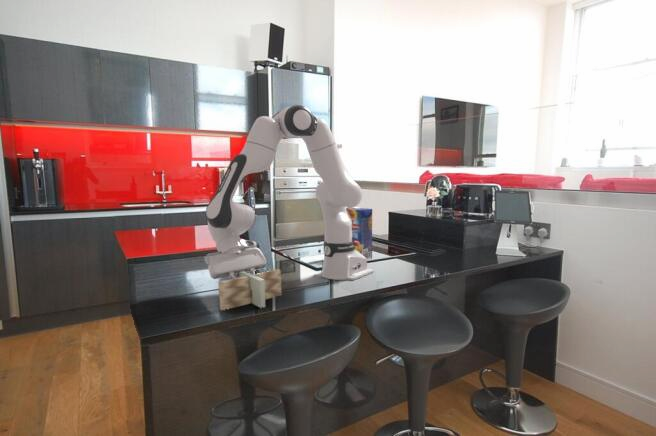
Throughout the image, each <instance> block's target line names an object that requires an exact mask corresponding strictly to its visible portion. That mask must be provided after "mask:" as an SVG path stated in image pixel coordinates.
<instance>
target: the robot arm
mask: <svg viewBox="0 0 656 436" xmlns="http://www.w3.org/2000/svg"><path fill="white" fill-rule="evenodd" d="M298 137H300V138H301V139H302V140H303V142H304V144H305V146H306V148H307V151H308V155H309V158H310V160H311V163H312V166H313V168H314V171H315V172H316V174H317V175H318V176H319V177H320V179H321V180H322V181H320V182H319V183H318V185H316V188H315V196H316V199H317V200H318V201H319V204H320V209H321V212H322V217H323V224H324V225H323V226H324V228H323V229H324V241H323V254H324V255H323V264H322V270H321V273H320V276H321V277H322V278H324V279H329V280H338V281H339V280H346V281H348V280H350V281H355V280H357V279H359V278H363V277H365V276H367V275H369V274H372V273H373V272H374V269H372V268H371V267H370V266H368V260H366V258H365V257H364V256H363V255H362V254H360V253H359V252H358V251H357V250H355V246H359V245H360V242H359V241H354V242H353V241H352V222H351V220H350V218H349V216H348V214H347V210H346V208H352V207H357V206H358V205H359V204H360V203H361V201H362V198H363V191H362V188H361V186H360V185H359V184H358V183H357V182H356V181H355V180H354V179H353V178H352V176H351V174H350V172H349V171H348V169H347V167H346V166H345V164H344V162H343V159H342V157H341V154H340V151H339V149H338V146H337V143H336V140H335V137H334V135H333V132H332V130H331V128H330V126H329V124H328V123H327V121H326V120H325V119H324V118H321V117H316V116H315V115H314V114H313V112H312V111H311V110H310V109H309V108H308V107H306V106H304V105H300V104H295V105H292V106H288V107H285V108H284V109H282V110H280V111H278V112H276V113H275V114H274V115H273V116H272V117H271V116H266V115H263V116H258V117H257V118H256V119H255V120H254V122H253V125H252V126H251V129H250V130H249V132H248V135H247V138H246V141H245V143H244V146H243V148H242V150H241V151H240V152H239V154H236V155H235V156H233V158H232V160H231V161H230V162H229V164H228V167H227V168H226V170H225V173H224V175H223V177H222V179H221V181H220V182H219V183H220V184H219V186H218V187H217V190H216V191H215V193H214V196H213V197H212V199H211V200H210V201H209V202H208V205H207V206H206V209H205V216H206V217H205V218H206V221H207V229H208V231H209V233H210V236H211V238H212V240H213V241H214V242H215V248H216V250H217V251H216V252H209V253H207V254H206V255H204V261H205V263H206V265H207V267H208V273H209V276H210V278H211V279H213V280H217V279H221V278H226V277H228V280H229V279H234V278H237V277H236V276H237V275H239V272H240V271H245V272H249V273H250V274H252V275H254V274H255V271H256V270H260V269H265V267H266V264H267V259H266V257H265V255H264V254H263V252H262V250H261V249H260V248H258V247H257V242H256V241H254V240H249V239H243V238H241V237H240V236H241V235H243V234H245V233H246V232H248V231H249V230H251V229H252V227H253V226H254V225H255V222H256V213H255V210H254V208H253V207H252V206H249V205H247V204H244V203H241V202H240V203H239V202H237V201H233V198H234V196H235V194H236V192H237V189H238V188H239V186H240V183H241V181H242V180H243V178H244V177H246V176H247V175H249V174H255V173H261V172H264V171H266V170H268V169H269V168H270V167H271V165H272V164H273V162H274V160H275V157H276V152H277V150H278V146H279V144H280V142H281V140H282V139H283V140H288V139H297V138H298Z"/></svg>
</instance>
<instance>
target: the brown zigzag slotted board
mask: <svg viewBox="0 0 656 436" xmlns="http://www.w3.org/2000/svg"><path fill="white" fill-rule="evenodd" d="M281 272H282V270H281V269H280V268H277V269H273V270H270V271H267V272H262V273H257V274H254V275H255V276H257V277H259V278H262V279H264V280H265V300H268V299H272V298H275V297H279V296H282V273H281ZM218 294H219V310H220V309H221V310H220V311H222V310H224V311H226V310H225V309H227V310H230V308H231V309H234V308H238V307H242V306H245V305H249V304H253V302H252V290H250V289H249V286H248V277H247V276H243V277H236V278H234V279H229V278H228V279H226V280H221V281H218Z"/></svg>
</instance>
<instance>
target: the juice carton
mask: <svg viewBox="0 0 656 436" xmlns="http://www.w3.org/2000/svg"><path fill="white" fill-rule="evenodd" d="M346 210H347V214H348V216H349V218H350V220H351V222H352V241H353V242H354V241H359V242H360V245H359V246H355V250H357V251H358V252H359V253H360V254H362V255H363V256H364V257H365V258H366V260H367V259H368V260H372V259H373V208H367V207H357V206H355V207H352V208H346ZM368 260H367V261H368Z"/></svg>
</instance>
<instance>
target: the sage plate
mask: <svg viewBox="0 0 656 436" xmlns="http://www.w3.org/2000/svg"><path fill="white" fill-rule="evenodd" d="M238 276H239V277H243V276H247V277H248V286H249V289H250V290H252V302H253V303H252V304H253V305H254V306H256V307H258V308H260V309H263V308H266V299H265V280H264V279H262V278H259V277H257V276H255V275H252V274H250V273H247V272H245V271H240V272H239V274H238ZM239 277H238V278H239ZM262 307H263V308H262Z"/></svg>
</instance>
